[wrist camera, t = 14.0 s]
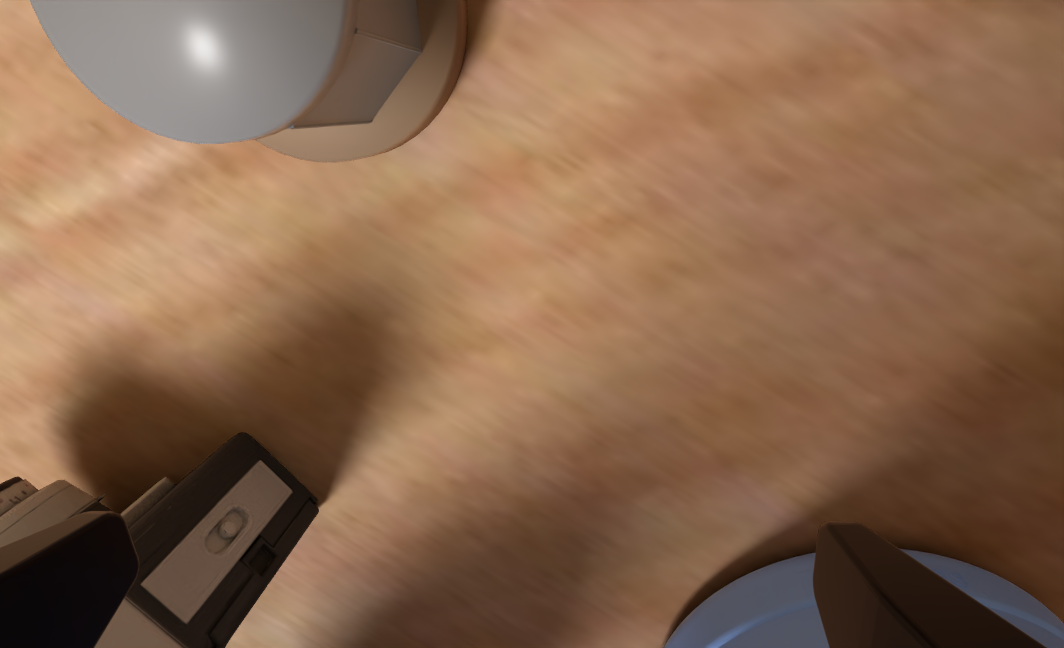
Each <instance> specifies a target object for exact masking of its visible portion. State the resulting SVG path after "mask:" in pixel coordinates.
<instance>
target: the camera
mask: <svg viewBox="0 0 1064 648" xmlns="http://www.w3.org/2000/svg"><path fill="white" fill-rule="evenodd" d="M104 496H105V495H104V494H102V495H101V496H100V497H98V498H97V499H95V498H93V497H92V496H90V495H88V494H87V493H85V492H83V491H82V490H80V489H78V488H77V487H75V486H73V485H72V484H70V483H68V482H67V481H65V480H57V481H56V482H54V483H52V484H50V485H48V486H46V487H44V488H42V489H40V490H38V489H36V488H35V487H34V486H33V485H32V484H31V483H29V482H28V481H27V480H26V479H25V480H23V479H21V478H20V477H14V478H12V479H10V480H7V481H5V482H3V483H1V484H0V547H3V546H5V545H7V544H10V543H12V542H14V541H17V540H19V539H22V538H24V537H26V536H29V535H31V534H33V533H36V532H38V531H41V530H43V529H45V528H48V527H50V526H52V525H55V524H57V523H60V522H62V521H64V520H67V519H69V518H71V517H74V516H76V515H79V514H81V513H84V512H89V511H112V510H110V509H109V508H107V507H105V506H104V505H102V504H101V503H100V502H99V501H100V500H101V499H102V498H103V497H104ZM316 502H317V499H316V498H315V497H314V496H313V495H312V494H311V493H310V492H309V491H308V490H307V489H306V488H305V487H304V486H303V485H302V484H301V483H300V482H299V481H298V480H297V479H296V478H295V477H294V476H293V475H292V474H291V473H290V472H288V471H287V470H286V469H285V468H284V467H283V466H282V465H281V464H280V463H279V462H278V461H277V460H276V459H275V458H274V457H273V456H272V455H270V454H269V453H268V452H267V451H266V450H265V449H264V448H263V447H262V446H261V445H259V444H258V443H257V442H256V441H255V440H254V439H253V438H252V437H251V436H249V435H248V434H246V433H239V434H237V435H236V436H234V437H233V438H231V439H230V440H229V441H228V442H226V443H225V444H224V445H223V446H222V447H221V448H219V449H218V450H217V451H216V452H215V453H213V454H212V455H211V456H210V457H209V458H208V459H206V460H205V461H204V462H203V463H202V464H200V465H199V466H198V467H197V468H196V469H195V470H193V471H192V472H191V473H190V474H189V475H187V476H186V477H185V478H184V479H183V480H182V481H180V482H179V483H178V484H177V485H175V484H174V483H172V482H171V481H170V480H169V479H168V478H167V477H164V478H163V479H161V480H160V481H159V482H157V483H156V484H155V485H154V486H153V487H152V488H150V489H149V490H148V491H147V492H146V493H144V494H143V495H142V496H141V497H140V498H139V499H137V500H136V501H135V502H134V503H133V504H131V505H130V506H129V507H128V508H127V509H126V510H124V511H123V512H122V513H121V514H120V515H121V516H122V517H123V518H124V519H125V521H126V524H127V527H128V530H129V533H130V535H131V538H132V541H133V544H134V547H135V550H136V552H137V555H138V558H139V571H138V575H137V577H136V580H135V581H134V583H133V585H132V587H131V588H130V590H129V592H128V593H127V595H126V596H125V598H124V600H123V601H122V603H121V605H120V606H119V608H118V610H117V611H116V613H115V615H114V616H113V618H112V620H111V621H110V623H109V625H108V626H107V628H106V630H105V631H104V633H103V634H102V636H101V638H100V639H99V641H98V643H97V644H96V646H95V648H225V647H226V645H227V643H228V642H229V640H230V638H231V637H232V635H233V634H234V633H235V631H236V630H237V628H238V627H239V625H240V624H241V623H242V621H243V620H244V618H245V617H246V615H247V614H248V613H249V611H250V610H251V608H252V607H253V605H254V604H255V603H256V601H257V600H258V598H259V597H260V595H261V594H262V593H263V591H264V590H265V588H266V587H267V585H268V584H269V582H270V581H271V580H272V578H273V577H274V575H275V574H276V572H277V571H278V570H279V568H280V567H281V565H282V564H283V562H284V561H285V560H286V558H287V557H288V555H289V554H290V552H291V551H292V550H293V548H294V547H295V545H296V544H297V542H298V541H299V540H300V538H301V537H302V535H303V534H304V532H305V531H306V530H307V528H308V527H309V525H310V524H311V522H312V521H313V519H314V518H315V517H316V515H317V514H318V512H319V509H318V508H317V507H316V506H315V503H316ZM112 512H114V511H112Z"/></svg>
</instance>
